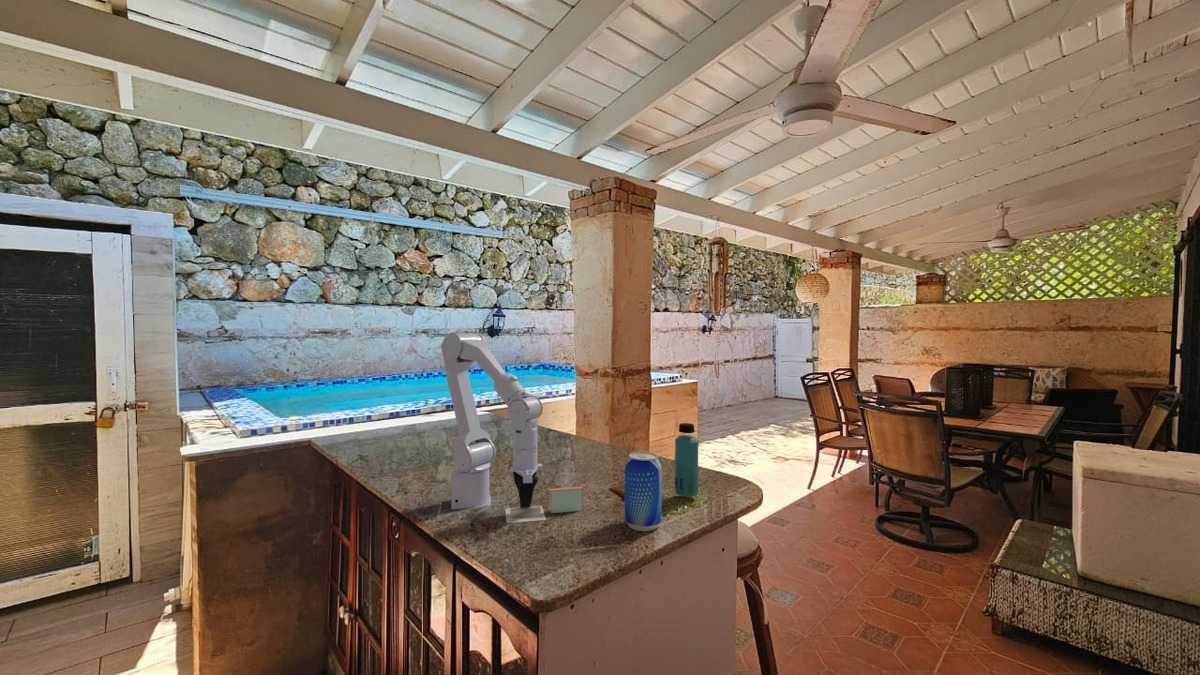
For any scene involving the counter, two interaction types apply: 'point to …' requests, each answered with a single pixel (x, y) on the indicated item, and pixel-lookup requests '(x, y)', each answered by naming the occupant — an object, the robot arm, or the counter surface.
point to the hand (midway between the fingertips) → (525, 503)
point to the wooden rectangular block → (525, 512)
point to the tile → (566, 499)
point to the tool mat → (524, 519)
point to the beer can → (643, 491)
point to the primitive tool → (619, 490)
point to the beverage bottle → (686, 462)
